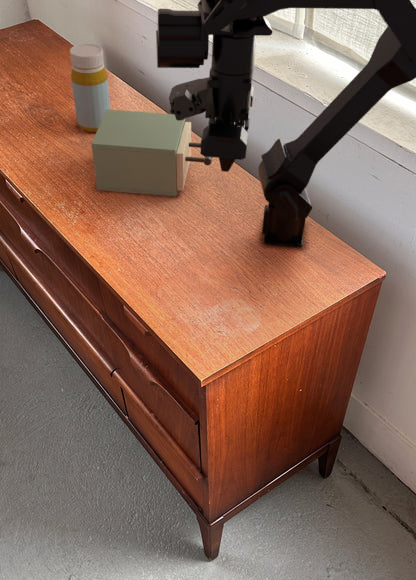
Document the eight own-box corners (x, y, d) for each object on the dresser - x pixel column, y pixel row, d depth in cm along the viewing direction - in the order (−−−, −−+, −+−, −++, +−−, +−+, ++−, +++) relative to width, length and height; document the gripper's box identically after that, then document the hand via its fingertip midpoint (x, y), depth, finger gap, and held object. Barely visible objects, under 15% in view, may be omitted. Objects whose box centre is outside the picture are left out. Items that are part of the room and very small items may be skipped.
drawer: (215, 160, 120) (216, 123, 115) (209, 193, 113) (210, 156, 107) (121, 152, 121) (118, 116, 116) (109, 184, 114) (105, 147, 108)
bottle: (105, 135, 127) (97, 59, 116) (72, 131, 128) (61, 55, 117) (116, 119, 132) (109, 44, 120) (84, 115, 133) (75, 40, 121)
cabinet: (185, 160, 122) (185, 115, 115) (176, 196, 113) (175, 150, 107) (111, 154, 123) (106, 109, 116) (96, 190, 114) (91, 143, 107)
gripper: (182, 34, 91) (181, 135, 103) (162, 92, 79) (164, 199, 91) (258, 41, 91) (248, 141, 103) (250, 100, 79) (240, 206, 90)
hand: (225, 170), depth 97 cm, fingers closed
